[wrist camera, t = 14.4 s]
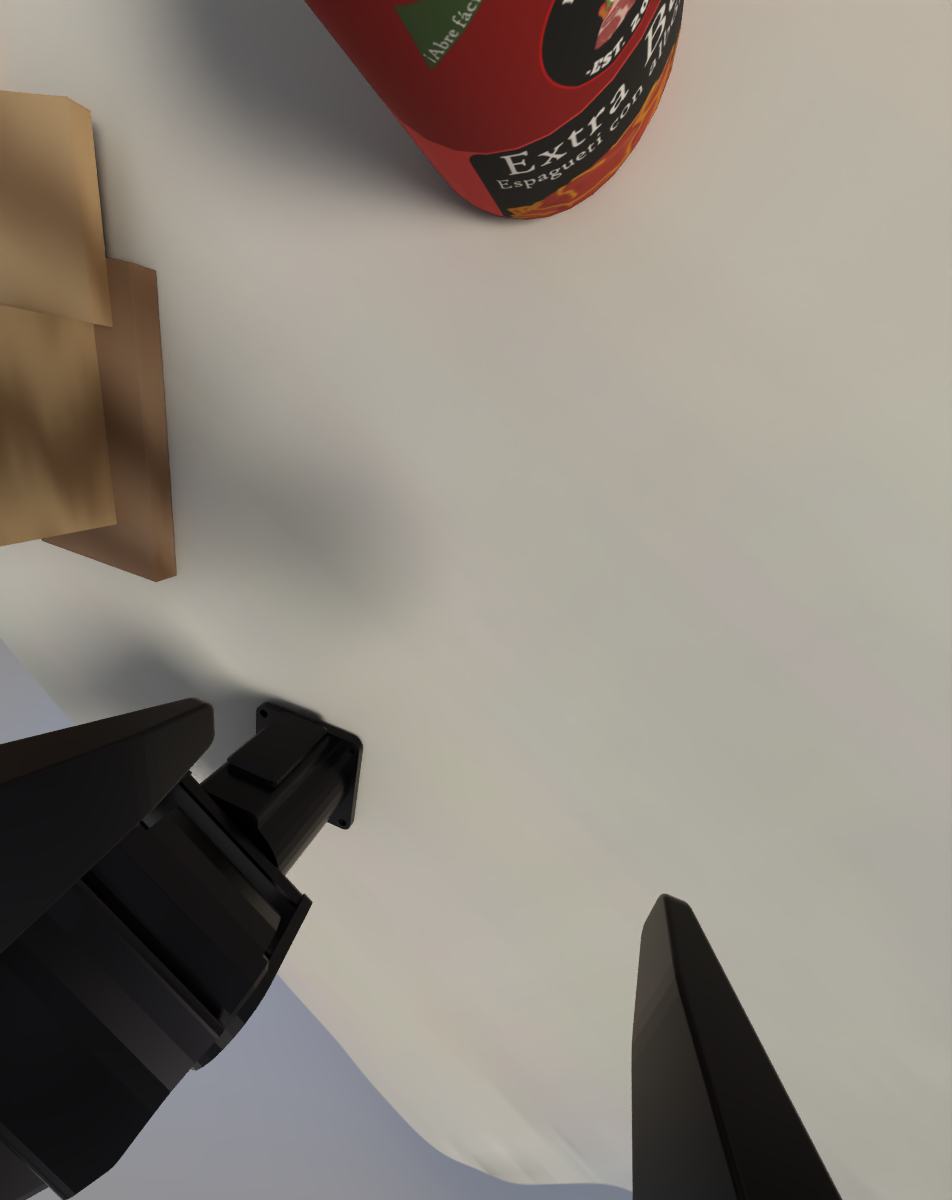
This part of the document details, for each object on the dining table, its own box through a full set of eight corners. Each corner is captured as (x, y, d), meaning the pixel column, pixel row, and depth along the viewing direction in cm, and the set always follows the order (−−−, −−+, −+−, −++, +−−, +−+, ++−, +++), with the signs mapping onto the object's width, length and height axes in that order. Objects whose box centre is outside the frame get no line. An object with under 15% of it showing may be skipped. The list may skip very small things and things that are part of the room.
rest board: (176, 575, 25) (156, 582, 24) (65, 536, 27) (41, 540, 26) (155, 270, 20) (128, 262, 19) (17, 244, 21) (-16, 235, 20)
